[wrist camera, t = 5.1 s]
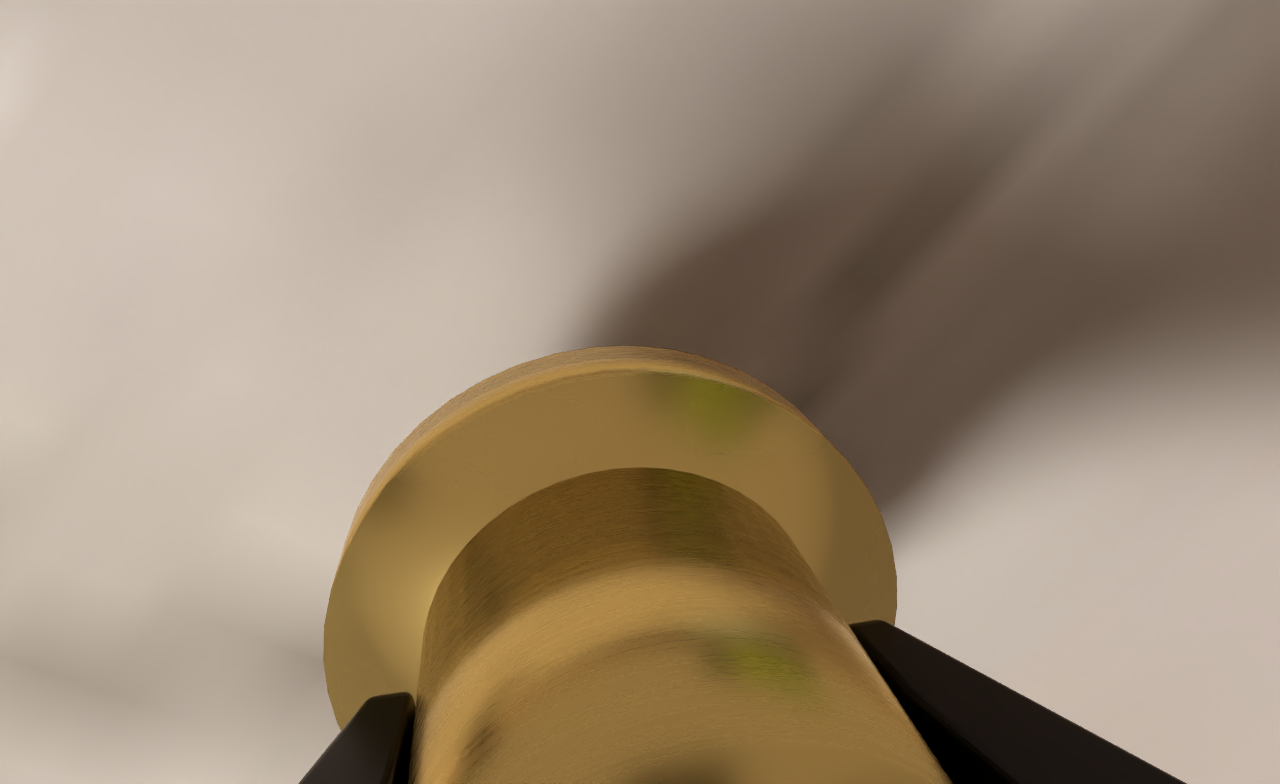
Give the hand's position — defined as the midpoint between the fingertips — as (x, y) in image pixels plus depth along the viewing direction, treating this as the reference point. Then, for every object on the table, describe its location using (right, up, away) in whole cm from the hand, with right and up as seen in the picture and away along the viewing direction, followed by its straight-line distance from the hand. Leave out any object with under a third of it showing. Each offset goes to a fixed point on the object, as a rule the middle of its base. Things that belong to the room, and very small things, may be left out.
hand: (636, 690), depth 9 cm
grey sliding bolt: (-1, -4, +6) cm, 8 cm away
